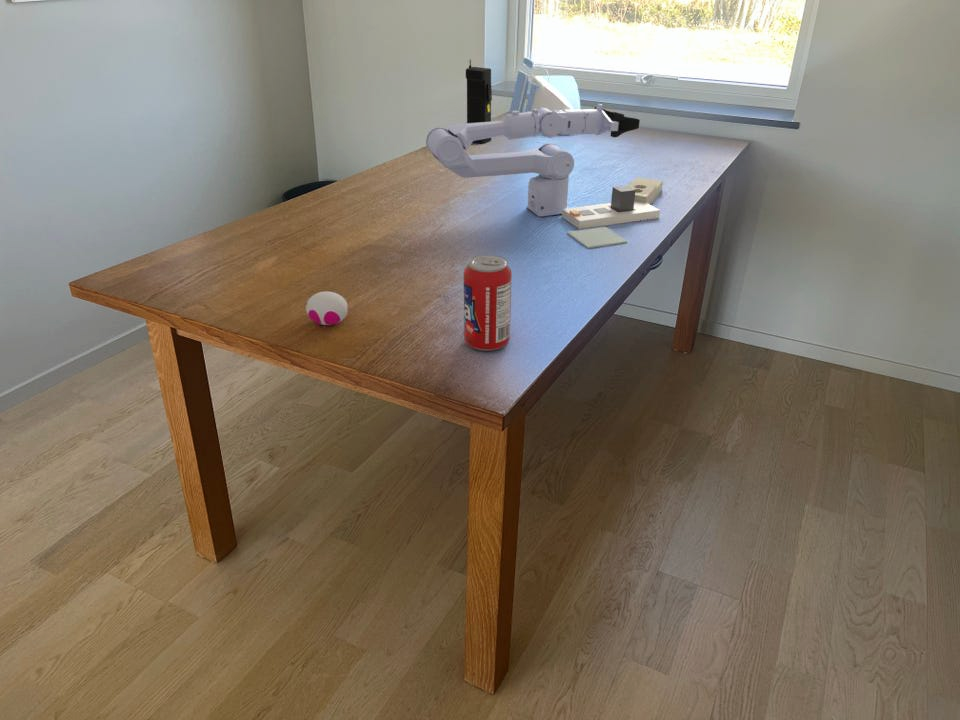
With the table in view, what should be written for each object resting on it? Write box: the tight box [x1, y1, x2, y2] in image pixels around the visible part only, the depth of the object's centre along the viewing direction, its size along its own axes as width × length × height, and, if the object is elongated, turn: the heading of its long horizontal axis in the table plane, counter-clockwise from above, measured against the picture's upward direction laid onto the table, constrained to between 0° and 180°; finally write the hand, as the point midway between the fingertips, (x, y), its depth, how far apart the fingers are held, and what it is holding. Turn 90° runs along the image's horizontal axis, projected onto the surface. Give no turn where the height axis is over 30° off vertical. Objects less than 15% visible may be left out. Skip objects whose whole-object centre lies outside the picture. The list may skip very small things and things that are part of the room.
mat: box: [566, 226, 628, 250], centre depth 172 cm, size 10×10×1 cm
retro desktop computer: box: [508, 57, 581, 114], centre depth 257 cm, size 25×23×16 cm
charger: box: [610, 184, 636, 213], centre depth 183 cm, size 4×4×7 cm
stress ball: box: [305, 291, 349, 328], centre depth 134 cm, size 8×8×7 cm
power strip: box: [561, 201, 661, 230], centre depth 183 cm, size 22×9×3 cm, turn 111°
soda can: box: [463, 254, 513, 352], centre depth 125 cm, size 8×8×15 cm
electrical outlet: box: [627, 177, 664, 205], centre depth 196 cm, size 7×4×18 cm
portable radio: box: [465, 60, 493, 144], centre depth 241 cm, size 8×6×25 cm
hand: (630, 121), depth 183 cm, fingers open, 7 cm apart
